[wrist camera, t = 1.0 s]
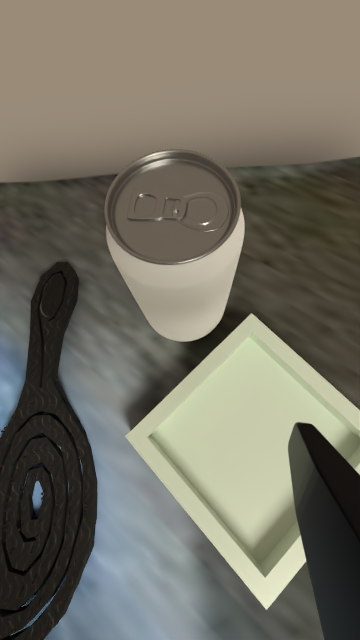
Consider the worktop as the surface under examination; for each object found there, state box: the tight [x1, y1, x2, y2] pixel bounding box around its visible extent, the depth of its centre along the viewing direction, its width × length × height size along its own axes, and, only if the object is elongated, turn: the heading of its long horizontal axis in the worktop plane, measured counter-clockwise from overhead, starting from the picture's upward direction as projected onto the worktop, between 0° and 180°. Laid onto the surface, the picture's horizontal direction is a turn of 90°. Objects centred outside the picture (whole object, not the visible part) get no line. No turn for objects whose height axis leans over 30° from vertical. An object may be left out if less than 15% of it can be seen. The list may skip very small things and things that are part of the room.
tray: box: [125, 313, 360, 610], centre depth 19 cm, size 12×12×2 cm
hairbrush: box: [0, 262, 97, 640], centre depth 20 cm, size 8×4×25 cm
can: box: [104, 149, 244, 342], centre depth 17 cm, size 6×6×12 cm
